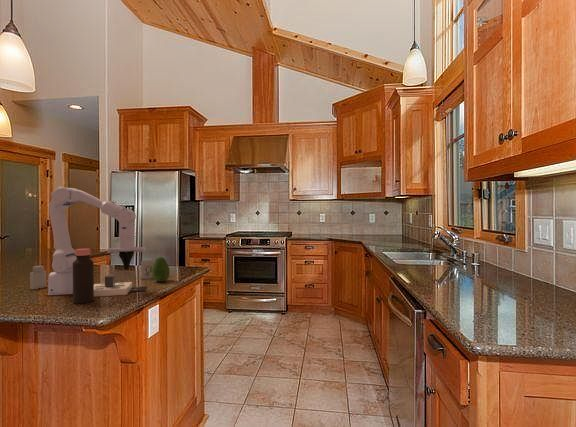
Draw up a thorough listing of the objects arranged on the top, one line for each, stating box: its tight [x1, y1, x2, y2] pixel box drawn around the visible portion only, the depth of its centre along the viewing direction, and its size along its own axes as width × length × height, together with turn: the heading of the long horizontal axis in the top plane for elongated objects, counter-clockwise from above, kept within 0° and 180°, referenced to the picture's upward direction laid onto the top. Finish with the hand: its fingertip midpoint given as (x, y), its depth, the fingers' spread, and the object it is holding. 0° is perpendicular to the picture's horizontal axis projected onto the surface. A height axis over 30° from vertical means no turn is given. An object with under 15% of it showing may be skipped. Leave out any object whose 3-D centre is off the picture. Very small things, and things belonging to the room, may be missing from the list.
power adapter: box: [29, 260, 47, 290], centre depth 145 cm, size 3×5×12 cm, turn 162°
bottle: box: [72, 247, 95, 305], centre depth 124 cm, size 7×7×20 cm
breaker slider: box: [104, 274, 116, 287], centre depth 138 cm, size 3×4×4 cm
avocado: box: [152, 256, 171, 283], centre depth 158 cm, size 8×8×12 cm
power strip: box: [94, 281, 148, 298], centre depth 139 cm, size 22×12×3 cm, turn 105°
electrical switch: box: [140, 259, 156, 280], centre depth 167 cm, size 9×5×9 cm, turn 116°
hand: (126, 269), depth 140 cm, fingers closed
